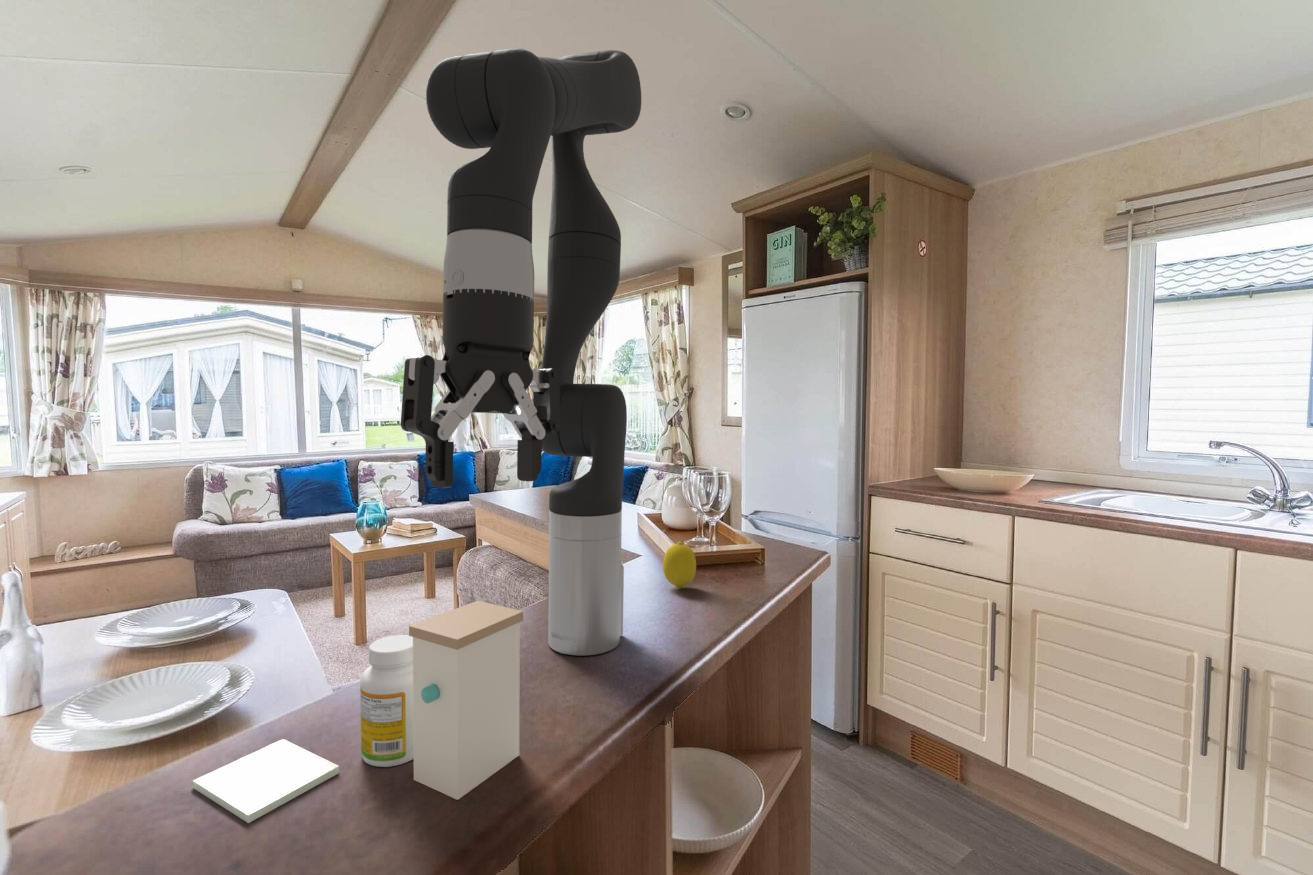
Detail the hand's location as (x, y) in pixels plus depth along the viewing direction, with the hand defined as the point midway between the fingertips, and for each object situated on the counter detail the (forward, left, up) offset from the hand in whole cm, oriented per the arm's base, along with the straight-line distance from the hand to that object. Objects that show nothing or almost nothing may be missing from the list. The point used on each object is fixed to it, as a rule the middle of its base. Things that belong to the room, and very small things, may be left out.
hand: (486, 483), depth 53 cm
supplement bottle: (+4, -7, -24) cm, 25 cm away
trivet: (+12, -12, -24) cm, 29 cm away
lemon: (-52, -7, -24) cm, 57 cm away
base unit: (+2, 0, -24) cm, 24 cm away
